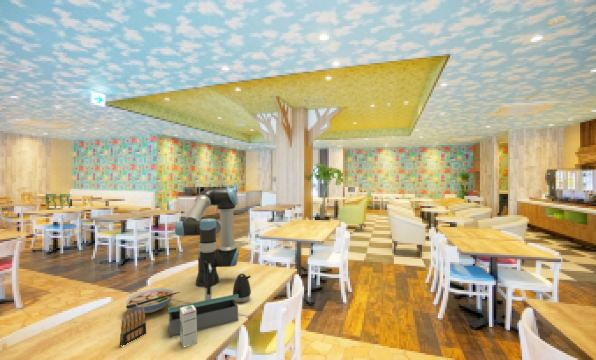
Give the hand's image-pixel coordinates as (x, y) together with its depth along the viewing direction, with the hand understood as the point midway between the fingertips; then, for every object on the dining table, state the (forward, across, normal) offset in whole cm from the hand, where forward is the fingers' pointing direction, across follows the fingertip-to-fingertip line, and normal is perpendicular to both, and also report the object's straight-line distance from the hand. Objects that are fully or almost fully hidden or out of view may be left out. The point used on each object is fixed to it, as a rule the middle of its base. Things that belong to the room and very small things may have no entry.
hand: (208, 300), depth 129 cm
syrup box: (+12, +12, -10) cm, 19 cm away
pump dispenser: (+11, -17, +21) cm, 29 cm away
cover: (+2, -2, -2) cm, 3 cm away
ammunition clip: (+11, -2, -31) cm, 33 cm away
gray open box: (+11, -2, -2) cm, 11 cm away
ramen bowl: (+11, -29, -25) cm, 39 cm away
